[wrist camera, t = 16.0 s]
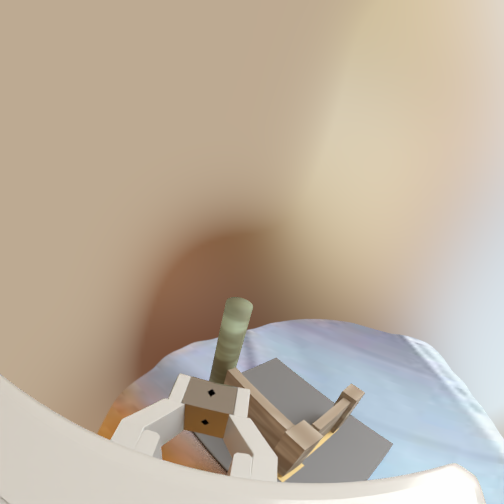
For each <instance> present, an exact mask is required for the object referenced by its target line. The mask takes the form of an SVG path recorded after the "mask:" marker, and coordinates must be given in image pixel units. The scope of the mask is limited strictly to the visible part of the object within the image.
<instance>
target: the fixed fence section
mask: <svg viewBox="0 0 504 504" xmlns="http://www.w3.org/2000/svg"><path fill="white" fill-rule="evenodd" d="M364 394H365V393H364V392H363V391H362V390H360V389H359V388H357V387H356V386H354V385H353V384H350V385H349V386H348V387H347V388H346V389H345V390H344V391H343V392H342V393H341V395H340V396H339V398H338V400H337V401H336V403H335V404H334V406H333V407H332V408H331V409H330V410H329V411H327V412H326V413H325V414H324V415H323V416H321V417H320V418H319V419H318V420H316V421H315V422H314V423H313V424H312V425H311V426H312V427H313V428H314V429H315V430H317V431H318V432H319V433H320V434H321V435H323V437H324V436H325V435H326V434H327V433H329V432H330V431H331V432H332V433H334V432H335V431H336V430H337V429H338V428H340V427H341V426H342V424H343V423H344V422H345V420H346V419H347V418H348V416H349V415H350V414H351V412H352V411H353V409H354V408H355V407H356V405H357V404H358V402H359V401H360V399H361V398H362V397H363V395H364Z"/></svg>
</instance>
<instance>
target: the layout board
mask: <svg viewBox="0 0 504 504" xmlns="http://www.w3.org/2000/svg"><path fill="white" fill-rule="evenodd" d="M242 375H243V376H244V377H245V378H246V379H247V380H248V381H249V382H250V383H251V384H252V385H253V386H254V387H255V388H256V389H257V390H258V391H259V392H260V393H261V394H262V395H263V396H264V397H265V398H266V399H267V400H268V401H269V402H270V403H271V404H273V405H274V406H275V407H276V408H277V409H278V410H279V411H280V412H281V413H282V414H283V415H284V416H285V417H286V418H287V419H288V420H290V421H291V422H292V423H293V424H294V425H297V424H298V423H300V422H301V421H303V420H305V421H306V422H307V423H308V424H310V425H312V424H313V423H314V422H315V421H316V420H318V419H319V418H320V417H321V416H323V415H324V414H325V413H326V412H327V411H329V410H330V409H331V408H332V407H333V406H334V404H335V403H334V402H332V401H331V400H330V399H328V398H327V397H326V396H324V395H323V394H322V393H320V392H319V391H318V390H316V389H315V388H314V387H313V386H311V385H310V384H309V383H307V382H306V381H305V380H304V379H302V378H301V377H300V376H298V375H297V374H296V373H295V372H293V371H292V370H291V369H290V368H288V367H287V366H286V365H285V364H283V363H282V362H281V361H280V360H279V359H277V358H275V359H272V360H270V361H268V362H266V363H263V364H261V365H259V366H257V367H254V368H252V369H249V370H247V371H245V372H242ZM193 433H194V434H195V435H196V436H197V438H198V439H199V440H200V441H201V442H202V444H203V445H204V446H205V447H206V448H207V450H208V451H209V452H210V453H211V454H212V455H213V457H214V458H215V459H216V460H217V461H218V462H219V463H220V464H221V466H222V467H223V468H224V469H225V470H226V471H227V472H228V470H229V467H230V464H231V461H232V457H231V455H230V453H229V451H228V449H227V447H226V445H225V443H224V440H223V439H222V438H218V437H214V436H210V435H206V434H202V433H197V432H193ZM392 445H393V443H391V442H389V441H388V440H386V439H385V438H383V437H382V436H380V435H379V434H377V433H376V432H375V431H373V430H372V429H370V428H369V427H367V426H366V425H364V424H363V423H361V422H360V421H359V420H357V419H356V418H354V417H353V416H352V415H349V416H348V418H347V419H346V420H345V422H344V423H343V424H342V426H341V427H340V428H338V429H337V430H336V431H335V432H334V433H332V432H331V431H330V432H329V433H327V434H326V435H325V436H324V437H323V438H322V439H321V440H320V441H319V443H318V444H317V445H316V446H315V448H314V449H313V450H312V451H311V452H310V454H309V455H308V456H307V457H306V458H305V460H304V461H303V462H302V463H301V464H300V465H299V466H298V467H296V468H295V469H294V470H292V471H291V472H289V473H288V474H286V475H285V476H283V477H282V476H281V475H280V474H279V473H278V472H277V482H289V483H342V482H356V481H367V479H368V478H369V477H370V476H371V474H372V473H373V472H374V470H375V469H376V468H377V466H378V465H379V464H380V462H381V461H382V460H383V458H384V457H385V455H386V454H387V452H388V451H389V449H390V448H391V447H392Z"/></svg>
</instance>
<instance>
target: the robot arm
mask: <svg viewBox="0 0 504 504" xmlns="http://www.w3.org/2000/svg"><path fill="white" fill-rule="evenodd" d="M249 398H250V389H245V388H240V387H234V386H229V385H224V384H220V383H214V382H210V381H206V380H203V379H199V378H195V377H191V376H188V375H184V374H181V373H180V374H179V375H178V377H177V380H176V382H175V384H174V386H173V389H172V391H171V393H170V395H169V398H168V399H166V398H164V399H162V400H160V401H158V402H156V403H154V404H152V405H150V406H148V407H146V408H144V409H142V410H140V411H138V412H136V413H134V414H132V415H130V416H128V417H126V418H124V419H122V420H121V422H120V424H119V426H118V428H117V429H116V431H115V433H114V435H113V437H112V438H111V440H108V439H106V438H104V437H102V436H100V435H97V434H95V433H93V432H91V431H89V430H87V429H85V428H83V427H81V426H79V425H77V424H75V423H74V422H72V421H70V420H68V419H66V418H65V417H63V416H61V415H59V414H57V413H56V412H54V411H53V410H51V409H49V408H48V407H46V406H45V405H43V404H41V403H40V402H38V401H37V400H35V399H34V398H32V397H31V396H29V395H28V394H26V393H25V392H24V391H22V390H21V389H19V388H18V387H17V386H15V385H14V384H13V383H11V382H10V381H9V380H7V379H6V378H5V377H4V376H3V375H1V374H0V504H486V502H485V499H484V496H483V492H482V489H481V486H480V484H479V482H478V480H477V478H476V477H475V476H474V475H473V474H472V473H471V472H469V471H468V470H466V469H465V468H463V467H462V466H460V465H458V464H456V463H452V464H448V465H444V466H441V467H437V468H433V469H429V470H425V471H421V472H416V473H412V474H407V475H401V476H396V477H390V478H383V479H375V480H367V481H356V482H342V483H289V482H277V465H278V457H277V456H276V454H275V453H274V452H273V450H272V449H271V447H270V446H269V445H268V443H267V442H266V440H265V439H264V437H263V436H262V435H261V433H260V432H259V430H258V429H257V427H256V426H255V424H254V423H253V421H252V420H251V418H247V415H248V406H249ZM183 429H184V430H188V431H193V432H197V433H202V434H206V435H210V436H214V437H218V438H222V439H223V440H224V443H225V445H226V447H227V449H228V451H229V453H230V455H231V457H232V461H231V464H230V467H229V470H228V472H227V475H222V474H216V473H212V472H207V471H202V470H198V469H194V468H190V467H186V466H182V465H178V464H175V463H171V462H168V461H165V460H162V452H161V446H163V445H164V444H165V443H167V442H168V441H170V440H171V439H172V438H174V437H175V436H176V435H178V434H179V433H180V432H182V431H183Z"/></svg>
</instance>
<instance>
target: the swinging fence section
mask: <svg viewBox="0 0 504 504" xmlns="http://www.w3.org/2000/svg"><path fill="white" fill-rule="evenodd" d="M252 308H253V305H252V304H251V303H250V302H249V301H247V300H245V299H243V298H237V297H232V298H229V299H227V301H226V306H225V310H224V314H223V319H222V324H221V328H220V332H219V337H218V342H217V346H216V351H215V356H214V360H213V365H212V370H211V375H210V379H209V381H210V382H214V383H220V384H224V385H229V386H234V387H240V388H245V389H250V398H249V406H248V415H247V418H251V420H252V421H253V423H254V424H255V426H256V427H257V429H258V430H259V432H260V433H261V435H262V436H263V437H264V439H265V440H266V442H267V443H268V445H269V446H270V447H271V449H272V450H273V452H274V453H275V454H276V456H277V457H278V465H277V472H278V473H279V474H280V475H281V476H282V477H283V476H285V475H286V474H288V473H289V472H291V471H292V470H294V469H295V468H296V467H298V466H299V465H300V464H301V463H302V462H303V461H304V460H305V458H306V457H307V456H308V455H309V454H310V452H311V451H312V450H313V449H314V448H315V446H316V445H317V444H318V443H319V441H320V440H321V439H322V438H323V435H321V434H320V433H319V432H318V431H317V430H315V429H314V428H313V427H312V426H311V425H310V424H308V423H307V422H306V421H305V420H303V421H301V422H300V423H298V424H297V425H294V424H293V423H292V422H291V421H290V420H288V419H287V418H286V417H285V416H284V415H283V414H282V413H281V412H280V411H279V410H278V409H277V408H276V407H275V406H274V405H273V404H271V403H270V402H269V401H268V400H267V399H266V398H265V397H264V396H263V395H262V394H261V393H260V392H259V391H258V390H257V389H256V388H255V387H254V386H253V385H252V384H251V383H250V382H249V381H248V380H247V379H246V378H245V377H244V376H243V375H242V373H241V372H240V371H239V370H238V369H237V368H236V366H237V362H238V359H239V355H240V352H241V348H242V344H243V341H244V337H245V334H246V330H247V327H248V323H249V319H250V316H251V312H252Z"/></svg>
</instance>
